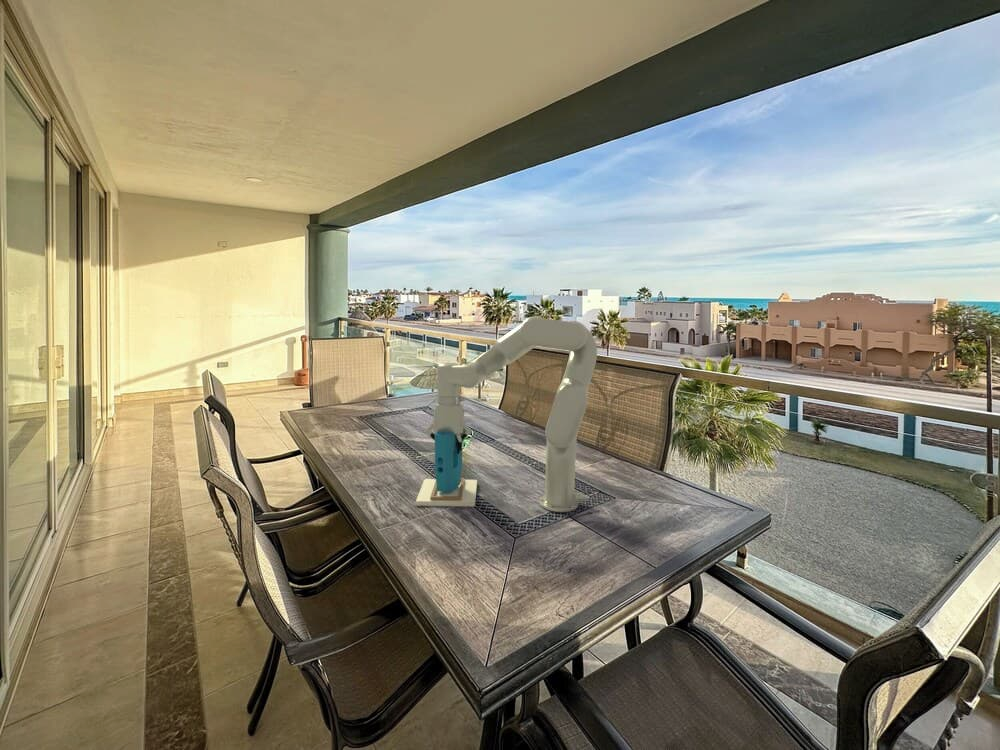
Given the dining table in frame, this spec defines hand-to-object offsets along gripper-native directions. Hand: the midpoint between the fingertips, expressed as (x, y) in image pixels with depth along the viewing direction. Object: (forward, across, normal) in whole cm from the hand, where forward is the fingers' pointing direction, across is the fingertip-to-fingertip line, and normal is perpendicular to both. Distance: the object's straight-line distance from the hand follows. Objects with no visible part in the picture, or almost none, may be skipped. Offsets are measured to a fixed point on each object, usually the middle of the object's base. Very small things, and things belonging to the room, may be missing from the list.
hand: (448, 452), depth 155 cm
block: (+13, 0, 0) cm, 13 cm away
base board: (+15, 0, 0) cm, 15 cm away
